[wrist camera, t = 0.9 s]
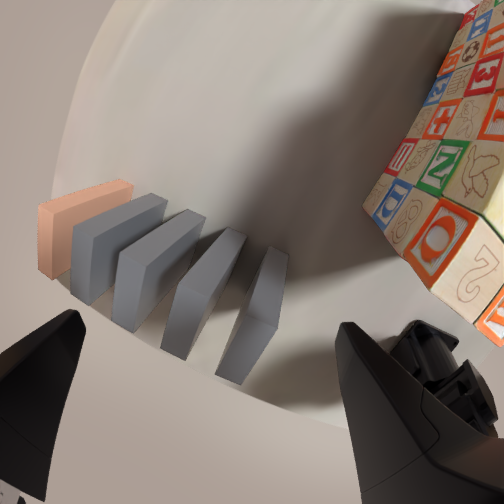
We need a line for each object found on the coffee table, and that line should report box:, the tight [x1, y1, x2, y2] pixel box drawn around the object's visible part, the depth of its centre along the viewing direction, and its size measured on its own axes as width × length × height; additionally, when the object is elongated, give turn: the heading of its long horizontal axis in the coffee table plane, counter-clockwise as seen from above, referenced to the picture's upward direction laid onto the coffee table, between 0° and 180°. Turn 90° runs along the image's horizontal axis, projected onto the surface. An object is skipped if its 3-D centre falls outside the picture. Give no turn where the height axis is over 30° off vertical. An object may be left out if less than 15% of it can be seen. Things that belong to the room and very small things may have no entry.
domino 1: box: [38, 179, 134, 280], centre depth 18 cm, size 2×5×9 cm, turn 158°
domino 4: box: [160, 227, 247, 361], centre depth 18 cm, size 2×5×9 cm, turn 157°
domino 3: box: [111, 209, 206, 333], centre depth 18 cm, size 2×5×9 cm, turn 157°
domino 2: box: [70, 193, 168, 306], centre depth 18 cm, size 2×5×9 cm, turn 158°
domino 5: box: [215, 246, 289, 385], centre depth 18 cm, size 2×5×9 cm, turn 157°
